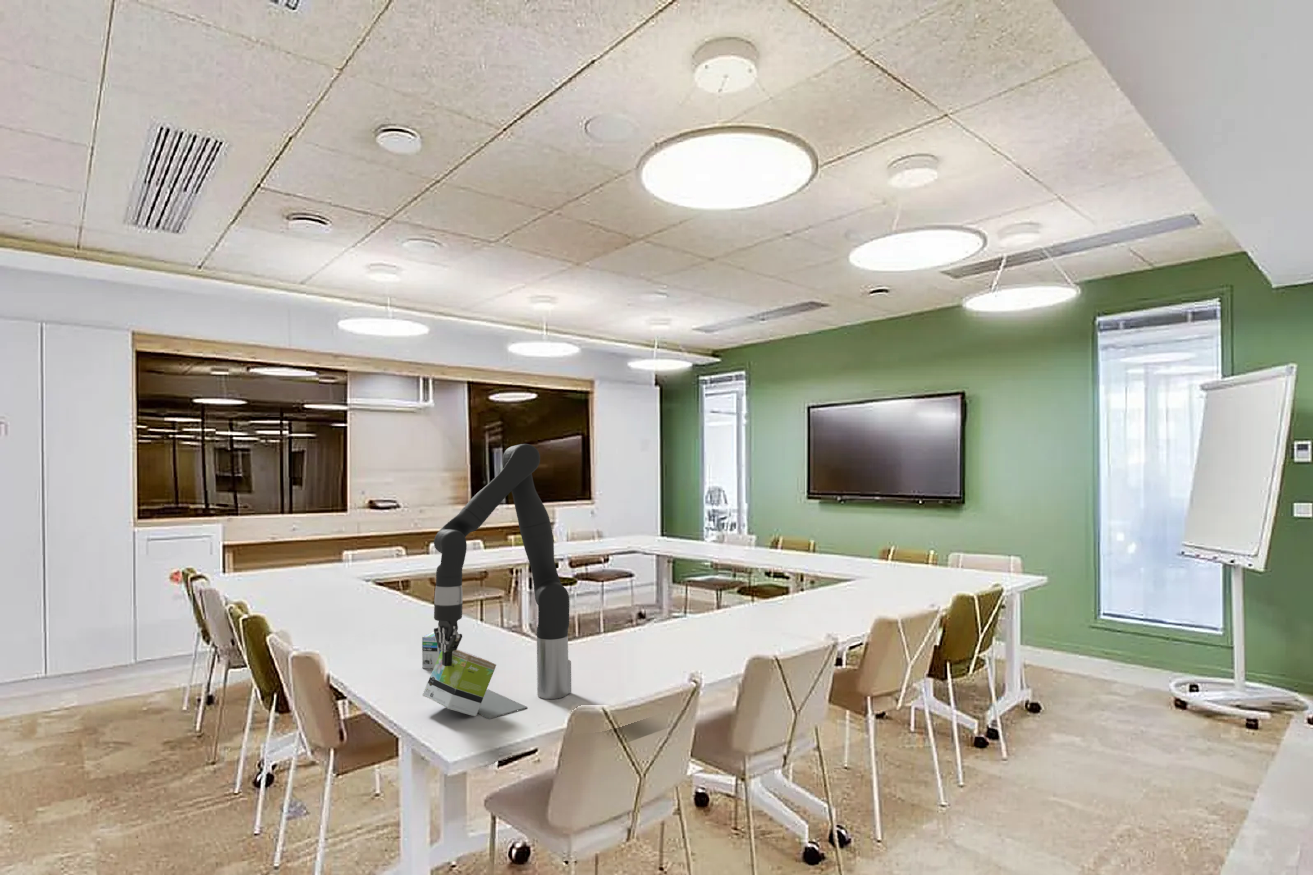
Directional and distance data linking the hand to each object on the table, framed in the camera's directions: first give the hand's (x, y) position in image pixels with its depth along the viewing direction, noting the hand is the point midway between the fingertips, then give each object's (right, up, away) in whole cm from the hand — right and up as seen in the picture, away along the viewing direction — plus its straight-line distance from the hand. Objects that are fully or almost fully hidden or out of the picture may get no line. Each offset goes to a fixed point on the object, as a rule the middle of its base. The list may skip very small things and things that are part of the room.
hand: (446, 665), depth 200 cm
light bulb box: (-17, -16, +50) cm, 55 cm away
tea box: (0, -12, 0) cm, 12 cm away
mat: (+10, -14, +8) cm, 19 cm away
